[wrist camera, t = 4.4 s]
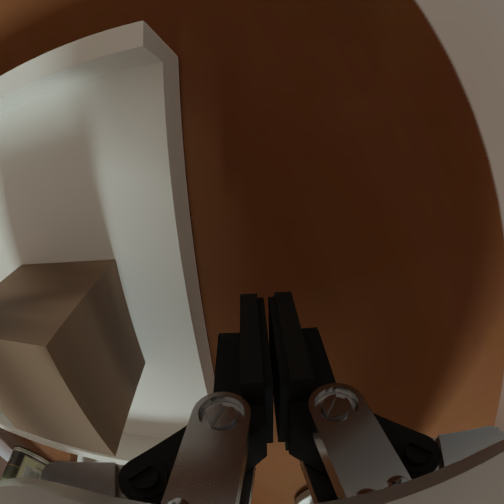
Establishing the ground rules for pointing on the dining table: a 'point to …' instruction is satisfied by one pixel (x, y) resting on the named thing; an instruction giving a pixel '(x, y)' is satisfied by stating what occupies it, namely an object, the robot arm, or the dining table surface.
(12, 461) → the coffee can
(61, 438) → the walnut block
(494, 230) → the dining table surface
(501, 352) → the dining table surface
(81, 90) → the box
